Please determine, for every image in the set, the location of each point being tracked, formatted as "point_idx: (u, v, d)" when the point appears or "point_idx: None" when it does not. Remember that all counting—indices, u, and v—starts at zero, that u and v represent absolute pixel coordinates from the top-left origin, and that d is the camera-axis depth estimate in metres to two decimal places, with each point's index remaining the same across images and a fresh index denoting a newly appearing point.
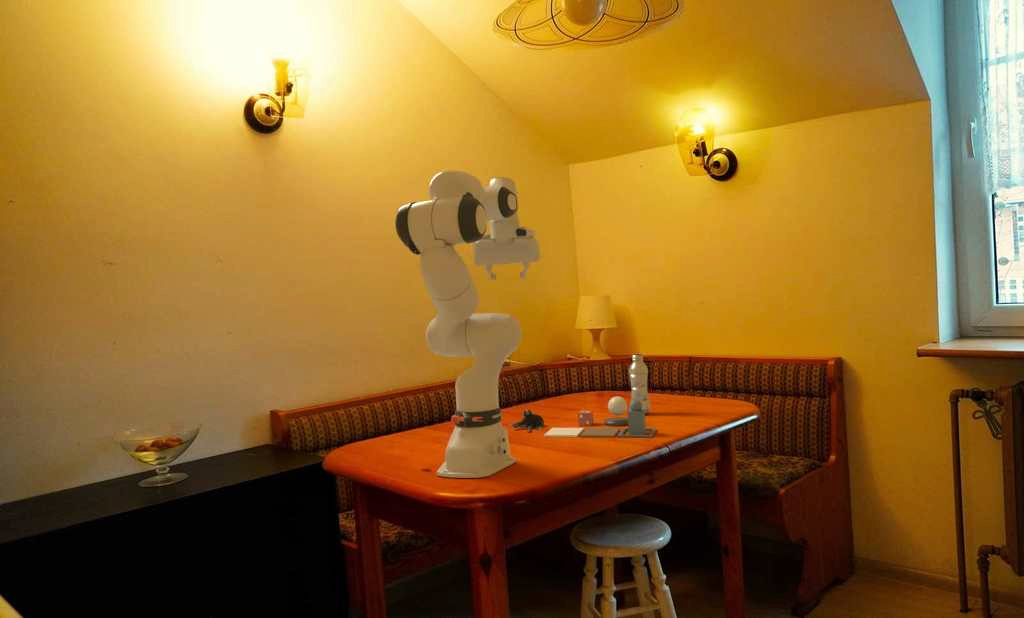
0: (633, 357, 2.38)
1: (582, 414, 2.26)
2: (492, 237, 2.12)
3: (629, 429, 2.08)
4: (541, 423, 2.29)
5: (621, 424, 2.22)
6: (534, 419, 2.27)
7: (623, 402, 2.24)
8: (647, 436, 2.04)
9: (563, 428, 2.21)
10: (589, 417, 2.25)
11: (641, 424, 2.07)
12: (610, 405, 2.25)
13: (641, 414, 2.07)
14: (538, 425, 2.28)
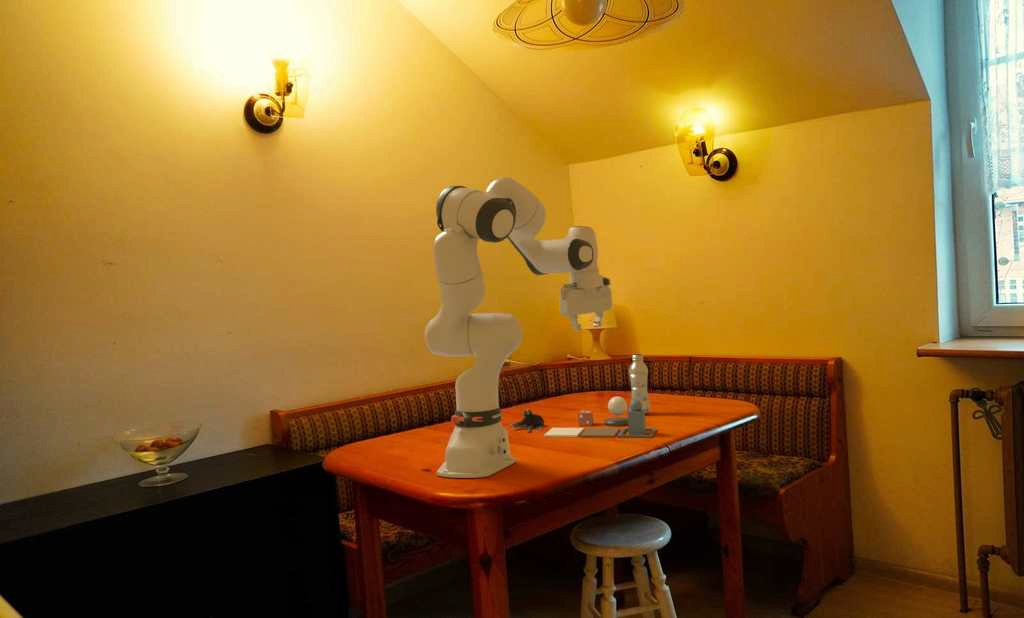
0: (633, 357, 2.38)
1: (582, 414, 2.26)
2: (586, 286, 2.06)
3: (629, 429, 2.08)
4: (541, 423, 2.29)
5: (621, 424, 2.22)
6: (534, 419, 2.27)
7: (623, 402, 2.24)
8: (647, 436, 2.04)
9: (563, 428, 2.21)
10: (589, 417, 2.25)
11: (641, 424, 2.07)
12: (610, 405, 2.25)
13: (641, 414, 2.07)
14: (538, 425, 2.28)
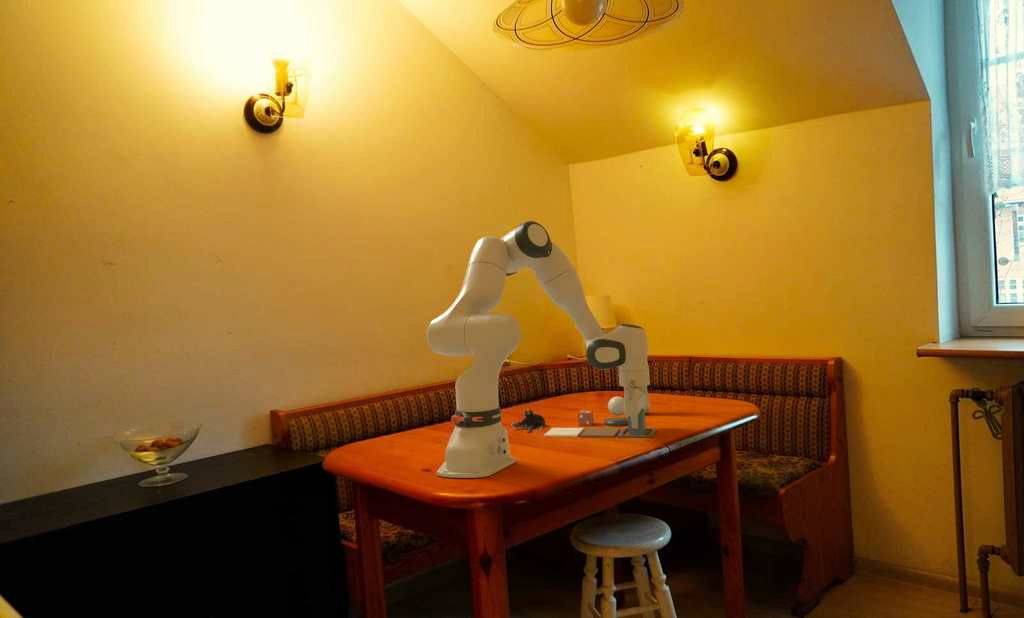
0: None
1: (582, 414, 2.26)
2: (643, 384, 2.05)
3: (629, 429, 2.08)
4: (542, 423, 2.29)
5: (621, 424, 2.22)
6: (535, 419, 2.27)
7: (623, 402, 2.24)
8: (647, 436, 2.04)
9: (563, 428, 2.21)
10: (589, 417, 2.25)
11: (641, 424, 2.07)
12: (610, 405, 2.25)
13: (641, 414, 2.07)
14: (539, 425, 2.28)
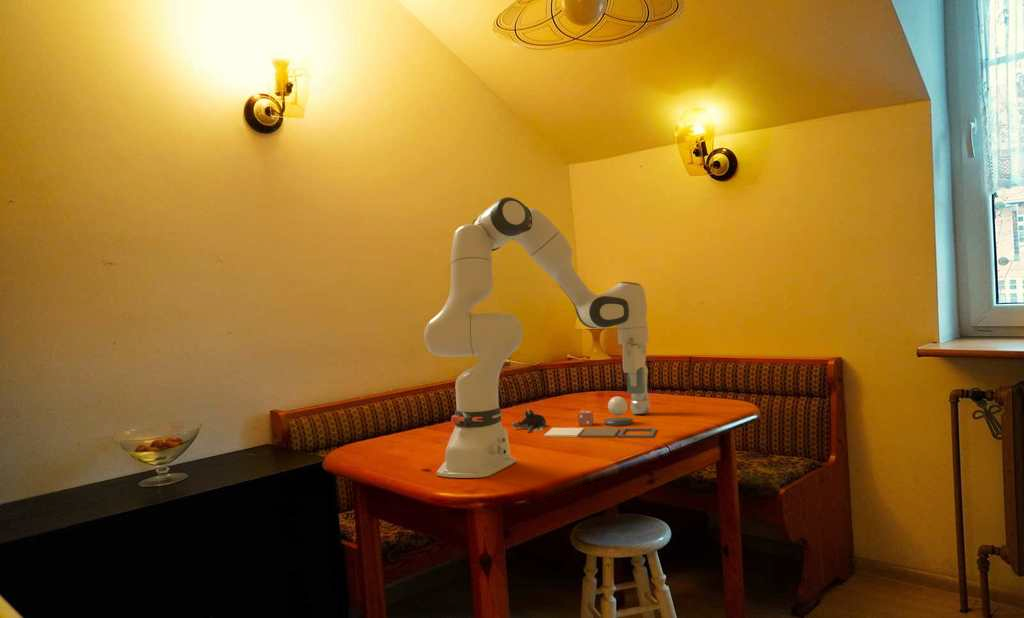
0: None
1: (582, 414, 2.26)
2: (642, 342, 2.04)
3: (628, 387, 2.07)
4: (543, 423, 2.29)
5: (621, 424, 2.22)
6: (535, 419, 2.27)
7: (623, 402, 2.24)
8: (647, 436, 2.04)
9: (563, 428, 2.21)
10: (589, 417, 2.25)
11: (640, 382, 2.06)
12: (610, 405, 2.25)
13: (640, 372, 2.06)
14: (539, 425, 2.28)
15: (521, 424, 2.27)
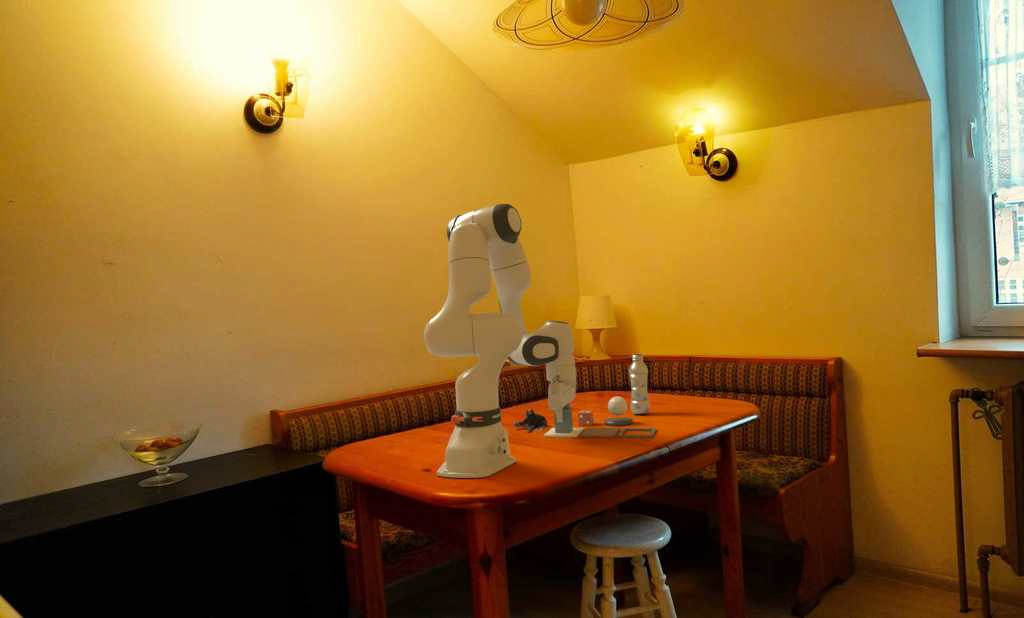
0: (633, 357, 2.38)
1: (582, 414, 2.26)
2: (568, 379, 2.12)
3: (556, 427, 2.15)
4: (544, 423, 2.28)
5: (621, 424, 2.22)
6: (536, 419, 2.27)
7: (623, 402, 2.24)
8: (647, 436, 2.04)
9: None
10: (589, 417, 2.25)
11: (567, 422, 2.14)
12: (610, 405, 2.25)
13: (567, 412, 2.13)
14: (540, 425, 2.28)
15: (522, 424, 2.27)
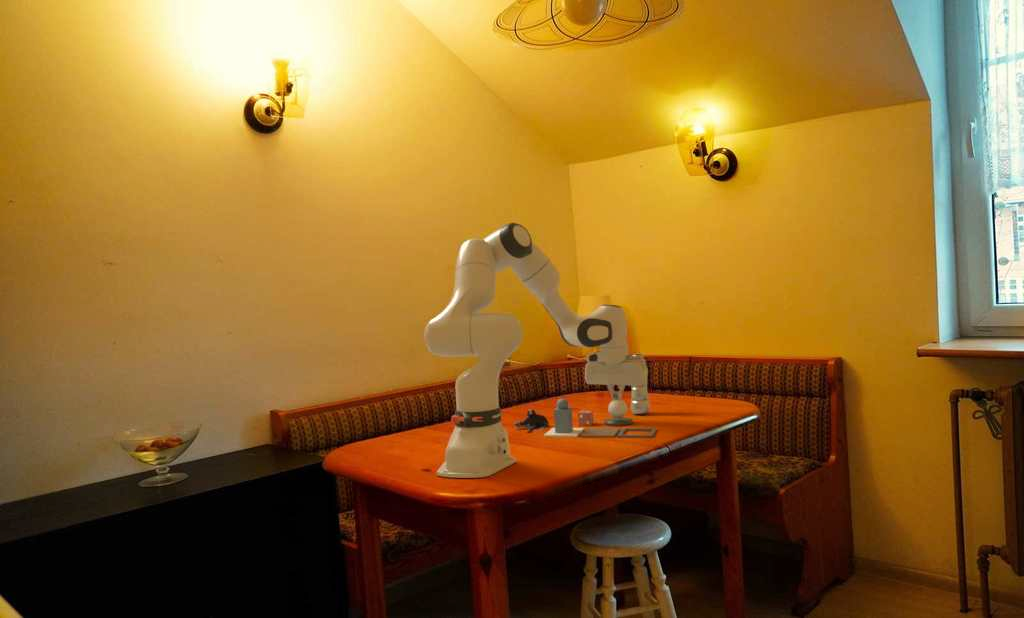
0: None
1: (582, 414, 2.26)
2: None
3: (556, 427, 2.15)
4: (545, 423, 2.28)
5: (621, 424, 2.22)
6: (537, 419, 2.27)
7: (623, 405, 2.24)
8: (647, 436, 2.04)
9: None
10: (589, 417, 2.25)
11: (567, 422, 2.14)
12: (610, 408, 2.25)
13: (567, 412, 2.13)
14: (541, 425, 2.27)
15: (523, 424, 2.27)
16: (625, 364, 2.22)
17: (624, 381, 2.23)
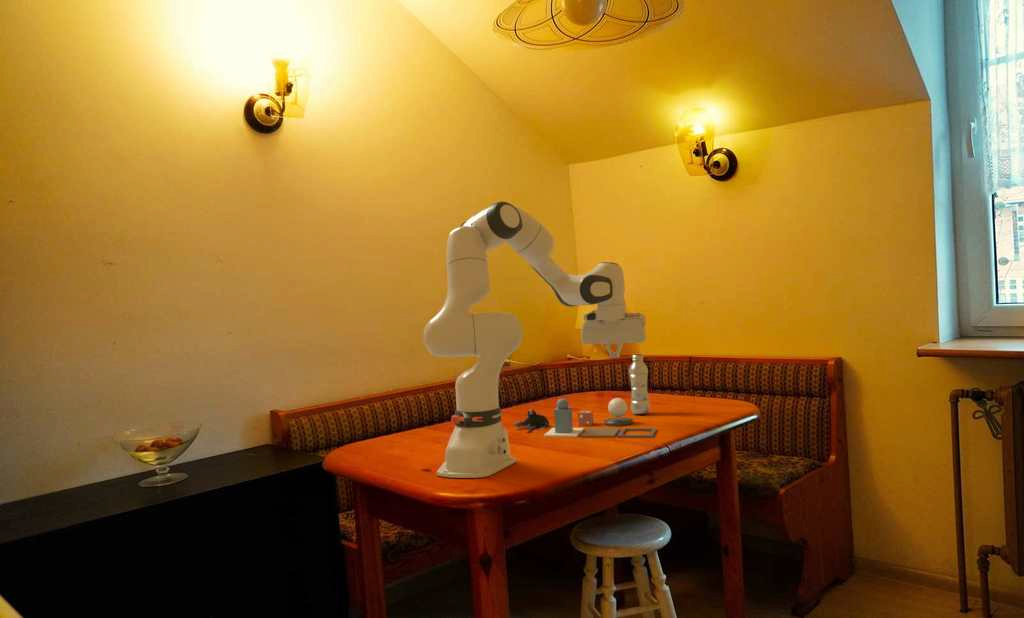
0: (633, 357, 2.38)
1: (582, 414, 2.26)
2: None
3: (556, 427, 2.15)
4: (545, 423, 2.28)
5: (621, 424, 2.22)
6: (537, 419, 2.27)
7: (623, 403, 2.24)
8: (647, 436, 2.04)
9: None
10: (589, 417, 2.25)
11: (567, 422, 2.14)
12: (610, 406, 2.25)
13: (567, 412, 2.13)
14: (542, 425, 2.27)
15: (523, 424, 2.27)
16: (625, 321, 2.21)
17: (623, 339, 2.22)
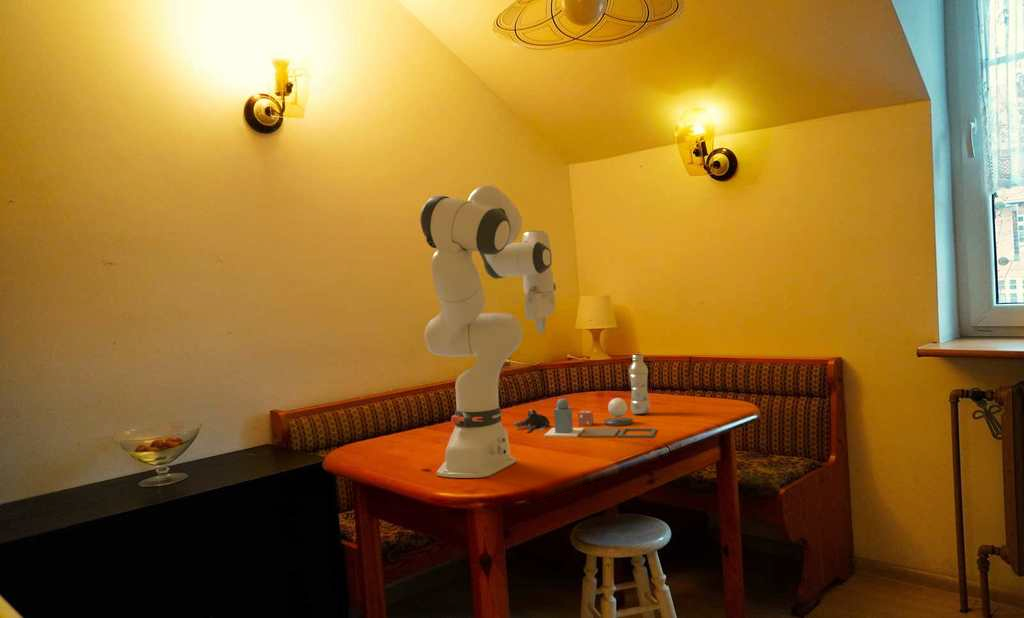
0: (633, 357, 2.38)
1: (582, 414, 2.26)
2: (546, 290, 2.07)
3: (556, 427, 2.15)
4: (546, 423, 2.28)
5: (621, 424, 2.22)
6: (538, 419, 2.27)
7: (623, 403, 2.24)
8: (647, 436, 2.04)
9: None
10: (589, 417, 2.25)
11: (567, 422, 2.14)
12: (610, 406, 2.25)
13: (567, 412, 2.13)
14: (542, 425, 2.27)
15: (523, 424, 2.27)
16: None
17: None
